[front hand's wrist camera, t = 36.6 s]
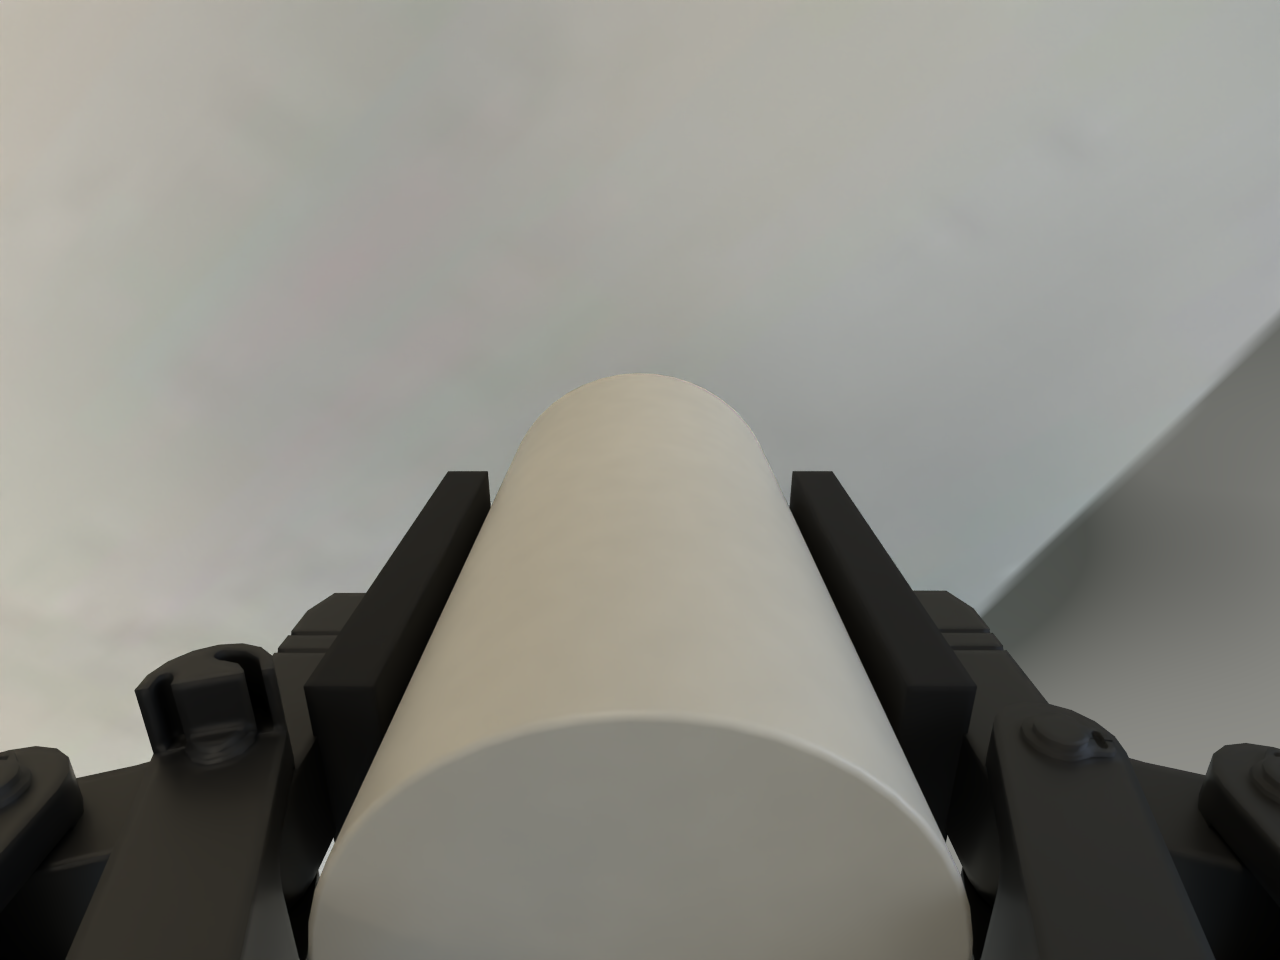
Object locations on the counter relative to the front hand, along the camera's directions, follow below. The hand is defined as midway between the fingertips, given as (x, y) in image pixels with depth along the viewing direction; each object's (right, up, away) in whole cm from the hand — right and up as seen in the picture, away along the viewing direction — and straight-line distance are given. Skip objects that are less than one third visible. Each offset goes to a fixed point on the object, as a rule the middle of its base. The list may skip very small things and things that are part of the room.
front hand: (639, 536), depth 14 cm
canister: (0, +1, +2) cm, 2 cm away
